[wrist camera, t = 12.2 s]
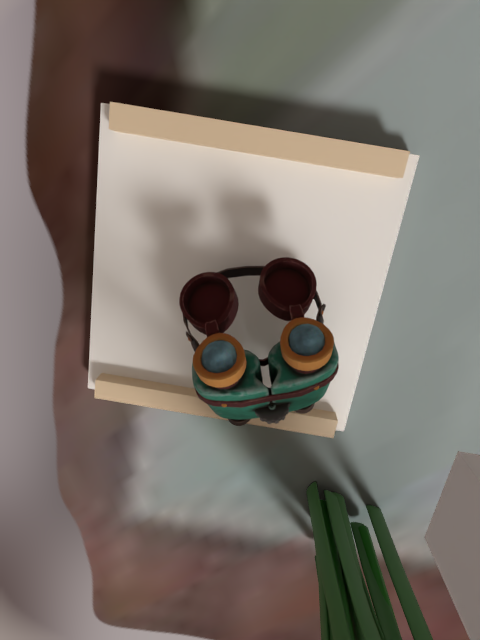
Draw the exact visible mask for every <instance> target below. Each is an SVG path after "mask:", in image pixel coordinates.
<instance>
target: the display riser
mask: <svg viewBox="0 0 480 640" xmlns="http://www.w3.org/2000/svg"><path fill="white" fill-rule="evenodd" d="M409 153H410V151H405V150H399V149H393V148H387V147H381V146H375V145H368V144H362V143H356V142H350V141H344V140H338V139H332V138H326V137H320V136H314V135H308V134H302V133H296V132H290V131H284V130H278V129H272V128H266V127H260V126H254V125H248V124H242V123H236V122H230V121H224V120H218V119H212V118H206V117H200V116H194V115H188V114H181V113H175V112H169V111H163V110H157V109H151V108H145V107H139V106H133V105H127V104H121V103H115V102H110V104H106V103H101V112H100V134H99V156H98V177H97V199H96V221H95V243H94V265H93V286H92V308H91V330H90V352H89V373H88V388H90V389H95V398H98V399H104V400H110V401H116V402H122V403H128V404H134V405H140V406H146V407H152V408H157V409H163V410H169V411H175V412H181V413H187V414H193V415H199V416H205V417H211V418H217V419H223V420H228V419H226V418H222V417H220V416H218V415H217V414H215V413H214V412H213V410H212V409H211V408H210V407H209V406H208V404H206V403H205V402H203V401H202V400H201V399H199V397H198V396H197V394H196V391H195V388H194V385H193V380H192V363H193V355H194V353H195V351H194V349H193V347H192V345H191V341H189V340H188V337H187V336H186V331H187V332H188V330H187V328H186V326H185V324H184V321H183V313H182V311H181V309H180V305H179V297H180V293H181V291H182V288H183V287H184V285H185V284H186V283H187V282H188V281H189V280H190V279H191V278H193V277H194V276H196V275H198V274H201V273H204V272H216V273H217V272H219V271H222V270H224V269H227V268H235V267H242V266H266V264H268V263H269V262H270V261H272V260H274V259H277V258H282V257H290V258H295V259H298V260H300V261H302V262H304V263H305V264H306V265H308V266H309V267H310V268H311V270H312V271H313V273H314V275H315V277H316V282H317V287H316V291H317V292H318V295H319V298H320V300H321V303H322V305H323V304H325V305H326V307H325V310H324V313H323V315H322V316H323V319H324V323H323V324H324V325H325V326H326V327H327V328H328V329H329V330H330V331H331V333H332V334H333V337H334V343H335V346H336V349H337V352H338V356H339V361H338V364H339V368H338V372H337V374H336V375H335V377H334V379H333V380H332V381H331V382H330V384H329V386H328V389H327V391H326V393H325V395H324V396H323V397H322V398H321V399H320V400H319V401H317V402H315V404H314V407H313V409H312V410H311V411H310V412H308V413H305V414H300V413H296V412H294V411H291V412H289V413H288V414H287V415H286V416H285V419H284V420H281V421H279V423H277V424H275V423H271V424H267V422H265V421H264V422H262V421H261V420H260V418H254V419H251V420H250V421H249V422H248V423H246V424H252V425H258V426H264V427H270V428H276V429H282V430H288V431H294V432H300V433H306V434H312V435H317V436H323V437H329V438H334V434H335V430H339V431H344V429H345V425H346V421H347V418H348V414H349V410H350V407H351V403H352V399H353V396H354V392H355V389H356V385H357V381H358V378H359V374H360V370H361V367H362V363H363V359H364V356H365V352H366V349H367V345H368V341H369V338H370V334H371V330H372V327H373V323H374V319H375V316H376V312H377V309H378V305H379V301H380V298H381V294H382V290H383V287H384V283H385V279H386V276H387V272H388V268H389V265H390V261H391V258H392V254H393V250H394V247H395V243H396V239H397V236H398V232H399V228H400V225H401V221H402V218H403V214H404V210H405V207H406V203H407V199H408V196H409V192H410V188H411V185H412V181H413V178H414V174H415V170H416V167H417V163H418V159H419V155H413V154H409ZM228 279H229V281H230V282H231V284H232V285H233V287H234V289H235V291H236V293H237V296H238V302H239V306H238V312H237V315H236V317H235V319H234V321H233V323H232V324H231V326H230V327H229V328H228V329H227V330H226V331H225V332H224V333H226V334H229V335H231V336H233V337H234V338H235V339H236V340H237V341H238V342H239V343H240V344H241V345H242V347H243V349H245V350H248V351H250V352H252V353H253V354H255V355H256V356H257V357H258V359H265V358H267V357H268V354H269V352H270V350H271V349H272V348H273V346H274V345H276V344H277V343H278V342H279V341H280V336H281V334H282V332H283V329H284V327H285V326H286V325H287V324H288V323H289V322H290V321H285V320H282V319H279V318H277V317H276V316H274V315H273V314H271V313H270V312H269V311H268V310H267V309H266V308H265V307H264V306H263V304H262V302H261V301H260V298H259V295H258V286H259V280H260V276H241V277H233V278H228ZM317 313H318V308H317V305H316V302H315V300H314V299H313V300H312V303H311V305H310V307H309V309H308V311H307V312H306V313H305V315H304V317H305V318H311V319H314V320H316V316H317ZM188 328H189V330H190V333H191V335H192V336H193V337H194V338H195V339H196V340H197V341H198V343H199V345H200V344H201V343H202V341H203V340H205V339H206V338H207V335H205V334H203V333H201V332H199V331H198V330H197V329H195V328H194V327H193V326H192V324H191V323H190V322H189V321H188ZM260 367H261V373H262V379H263V384H264V385H265V386H266V387H268V388H271V386H272V385H271V381H270V375H269V365H266V366H260Z"/></svg>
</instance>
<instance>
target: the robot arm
mask: <svg viewBox="0 0 480 640" xmlns="http://www.w3.org/2000/svg"><path fill="white" fill-rule="evenodd" d="M425 539H426V542H427V544H428V546H429V548H430V551H431V553H432V555H433V557H434V560H435V562H436V564H437V566H438V569H439V571H440V573H441V575H442V578H443V580H444V582H445V584H446V587H447V589H448V591H449V593H450V596H451V598H452V600H453V602H454V605H455V607H456V609H457V611H458V614H459V616H460V618H461V620H462V623H463V625H464V627H465V629H466V631H467V634H468V636H469V638H470V640H480V455H477V454H471V453H465V452H459V451H458V453H457V455H456V458H455V460H454V463H453V465H452V468H451V471H450V473H449V476H448V478H447V481H446V483H445V486H444V488H443V491H442V494H441V496H440V499H439V501H438V504H437V506H436V509H435V512H434V514H433V517H432V519H431V522H430V524H429V527H428V530H427V532H426V535H425Z"/></svg>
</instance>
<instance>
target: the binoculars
mask: <svg viewBox="0 0 480 640" xmlns="http://www.w3.org/2000/svg"><path fill="white" fill-rule="evenodd" d="M241 276H260V280H259V286H258V295H259V298H260V301H261V302H262V304H263V306H264V307H265V308H266V309H267V310H268V311H269V312H270V313H271V314H273V315H274V316H276V317H277V318H279V319H282V320H285V321H290V322H289V323H288V324H287V325H286V326H285V327H284V329H283V332H282V334H281V336H280V341H279V342H278V343H277V344H276V345H274V346H273V348H272V349H271V350H270V352H269V354H268V357H267V358H265V359H258V357H257V356H256V355H255V354H253V353H252V352H250V351H248V350H245V349H243V347H242V345H241V344H240V343H239V342H238V341H237V340H236V339H235V338H234V337H233V336H231V335H229V334H226V333H224V332H225V331H226V330H227V329H228V328H229V327H230V326H231V324H232V323H233V321H234V319H235V317H236V315H237V312H238V306H239V302H238V296H237V293H236V291H235V289H234V287H233V285H232V284H231V282H230V281H229V279H228V278H233V277H241ZM316 287H317V282H316V277H315V275H314V273H313V271H312V270H311V268H310V267H309V266H308V265H306V264H305V263H304V262H302V261H300V260H298V259H295V258H290V257H282V258H277V259H274V260H272V261H270V262H269V263H268V264H266V266H242V267H235V268H227V269H224V270H222V271H219V272H217V273H216V272H204V273H201V274H198V275H196V276H194V277H193V278H191V279H190V280H189V281H188V282H187V283H186V284H185V285H184V287H183V288H182V291H181V293H180V297H179V305H180V309H181V311H182V313H183V321H184V324H185V326H186V328H187V330H188V332H187V331H186V336H187V337H188V340H189V341H191V345H192V347H193V349H194V351H195V353H194V355H193V363H192V380H193V385H194V388H195V391H196V394H197V396H198V397H199V399H201V400H202V401H203V402H205V403H206V404H208V406H209V407H210V408H211V409H212V410H213V412H214V413H215V414H217V415H218V416H220V417H222V418H226V419H228V420H229V421H230V422H231V423H232V424H233V425H237V426H241V425H244V424H246V423H248V422H249V421H250V420H251V419H254V418H260V420H261V421H262V422H264V421H265V422H267V424H271V423H275V424H277V423H279V421H281V420H284V419H285V416H286V415H287V414H288V413H289V412H291V411H294V412H296V413H300V414H305V413H308V412H310V411H311V410H312V409H313V407H314V404H315V402H317V401H319V400H320V399H321V398H322V397H323V396H324V395H325V393H326V391H327V389H328V386H329V384H330V382H331V381H332V380H333V379H334V377H335V375H336V374H337V372H338V368H339V364H338V361H339V356H338V352H337V349H336V346H335V343H334V337H333V334H332V333H331V331H330V330H329V329H328V328H327V327H326V326H325V325H324V324H323V323H324V319H323V316H322V315H323V313H324V310H325V307H326V305H325V304H323V305H322V303H321V300H320V298H319V295H318V292H317V291H316ZM313 299H314V300H315V302H316V305H317V308H318V313H317V316H316V320H314V319H311V318H305V317H304V315H305V313H306V312H307V311H308V309H309V307H310V305H311V303H312V300H313ZM188 321H189V322H190V323H191V324H192V326H193V327H194V328H195V329H197V330H198V331H199V332H201V333H203V334H205V335H207V338H206V339H205V340H203V341H202V343H201V344H200V345H199V343H198V341H197V340H196V339H195V338H194V337H193V336H192V335H191V333H190V330H189V328H188ZM266 365H269V375H270V381H271V385H272V386H271V388H268V387H266V386H265V385H264V384H263V379H262V373H261V367H260V366H266Z"/></svg>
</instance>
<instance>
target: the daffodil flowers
mask: <svg viewBox="0 0 480 640" xmlns="http://www.w3.org/2000/svg"><path fill="white" fill-rule="evenodd" d="M306 493H307V499H308V505H309V511H310V517H311V523H312V529H313V535H314V541H315V549H316V556H315V561H316V568H317V575H318V582H319V602H320V623H321V640H402V638H401V635H400V632H399V628H398V625H397V622H396V619H395V615H394V612H393V609H392V605H391V602H390V599H389V596H388V592H387V589H386V586H385V583H384V579H383V576H382V573H381V569H380V566H379V563H378V560H377V556H376V553H375V550H374V546H373V543H372V540H371V537H370V533H369V530H368V528H367V527H366V526H364V524H361V523H357V522H351V523H350V522H349V518H348V513H347V509H346V504H345V500H344V497H343V496H342V495H340V494H338V493H335V492H330V491H328V490H324V494H325V499H326V501H325V500H320V498H319V493H318V489H317V484H316V482H313V483H312V484H311V485H310V486H309V487H308V489H307V491H306ZM366 508H367V510H368V513H369V516H370V519H371V522H372V525H373V528H374V531H375V534H376V537H377V540H378V543H379V545H380V548H381V551H382V554H383V557H384V560H385V563H386V565H387V568H388V571H389V574H390V576H391V579H392V582H393V584H394V587H395V590H396V592H397V595H398V598H399V601H400V603H401V606H402V609H403V611H404V614H405V617H406V619H407V622H408V625H409V628H410V630H411V633H412V636H413V638H414V640H433V638H432V636H431V634H430V631H429V629H428V626H427V624H426V622H425V619H424V617H423V614H422V612H421V610H420V607H419V605H418V602H417V600H416V597H415V595H414V593H413V590H412V588H411V585H410V583H409V581H408V578H407V576H406V573H405V571H404V569H403V566H402V564H401V561H400V558H399V556H398V553H397V551H396V548H395V545H394V543H393V540H392V538H391V535H390V532H389V530H388V527H387V525H386V522H385V520H384V517H383V514H382V512H381V510H380V509H379V508H377V507H375V506H371V505H366ZM350 524H351V526H350ZM351 528H352V531H351ZM352 532H353V535H354V539H355V543H356V546H357V550H358V554H359V557H360V561H361V565H362V568H363V572H364V575H365V579H366V582H367V585H368V589H369V592H370V596H371V599H372V602H373V605H372V602H371V599H370V596H369V593H368V590H367V587H366V584H365V581H364V578H363V575H362V572H361V569H360V566H359V562H358V559H357V554H356V549H355V544H354V540H353V535H352ZM373 606H374V608H373ZM374 609H375V611H374ZM375 613H376V614H375ZM376 616H377V617H376ZM377 619H378V620H377Z"/></svg>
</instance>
